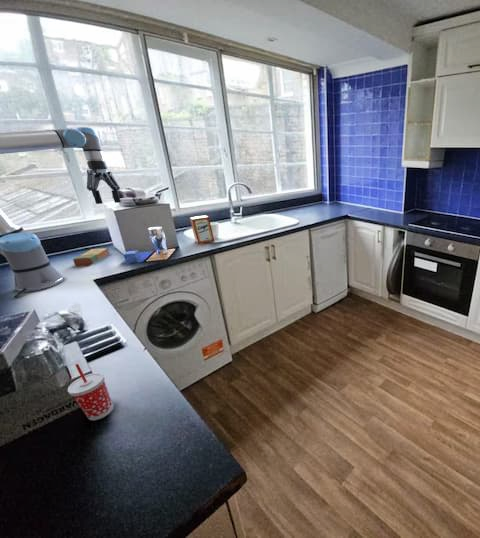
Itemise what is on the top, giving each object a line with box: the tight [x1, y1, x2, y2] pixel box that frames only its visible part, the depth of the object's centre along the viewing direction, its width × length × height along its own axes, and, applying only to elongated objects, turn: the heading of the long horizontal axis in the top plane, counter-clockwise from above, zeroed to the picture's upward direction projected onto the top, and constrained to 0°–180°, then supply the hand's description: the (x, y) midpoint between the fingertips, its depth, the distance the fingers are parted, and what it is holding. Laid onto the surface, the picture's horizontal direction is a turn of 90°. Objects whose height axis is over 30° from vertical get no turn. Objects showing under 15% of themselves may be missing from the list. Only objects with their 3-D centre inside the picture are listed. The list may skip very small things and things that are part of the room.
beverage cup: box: [67, 363, 114, 421], centre depth 65 cm, size 6×6×14 cm
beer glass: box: [147, 225, 169, 255], centre depth 165 cm, size 7×7×15 cm
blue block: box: [122, 250, 141, 264], centre depth 157 cm, size 5×5×5 cm
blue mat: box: [121, 250, 155, 265], centre depth 163 cm, size 18×10×1 cm, turn 17°
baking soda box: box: [189, 215, 215, 245], centre depth 187 cm, size 10×6×16 cm
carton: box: [72, 247, 110, 267], centre depth 161 cm, size 8×16×4 cm, turn 12°
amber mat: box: [146, 248, 176, 262], centre depth 166 cm, size 18×10×1 cm, turn 17°
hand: (109, 203), depth 156 cm, fingers open, 13 cm apart
